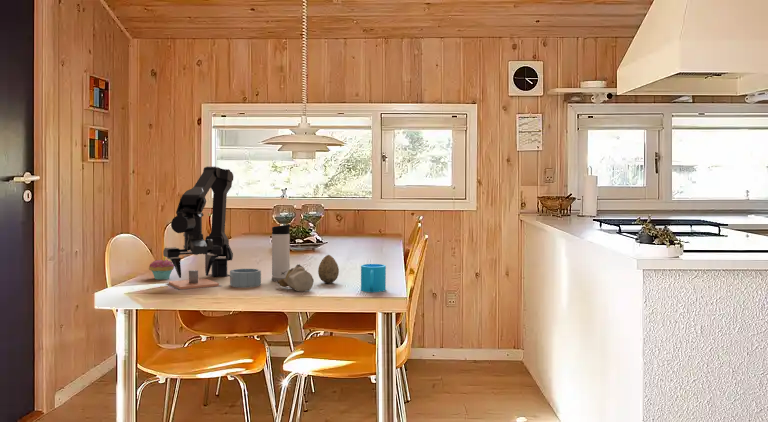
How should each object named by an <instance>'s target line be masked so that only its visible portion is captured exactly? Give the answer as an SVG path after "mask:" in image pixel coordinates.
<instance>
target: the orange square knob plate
mask: <svg viewBox="0 0 768 422" xmlns="http://www.w3.org/2000/svg"><path fill="white" fill-rule="evenodd" d="M168 283H169V284H170V285H172V286H174V287H176V288H178V289H187V290H192V289H191V288H199V289H203V288H202V287H210V288H215V287H214V286H219V285H220V283H219V282H216V281H213V280H211V279H208V278H199V270H195V269H191V270H188V279H184V280H172V281H168Z"/></svg>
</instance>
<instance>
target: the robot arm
mask: <svg viewBox="0 0 768 422" xmlns="http://www.w3.org/2000/svg"><path fill="white" fill-rule="evenodd" d="M233 181H234V173H233V172H232V171H231V169H229V168H228V169H227V168H225V169H224V168H220V167H219V166H205V167H204V168H203V172H202V173H201V175H200V176H199V178H198V180H197V181H196V182H195V184H194V186H192V188H190V189H188V190H186V191H184V193H182V195H181V197H180V200H179V201H178V206H177V209H176V210H175V214H176V215H175V216H174V217H173V218H172V220H171V222H170V226H171V229H172V230H173V231H174V232H175V233H177V234H183V237H184V239H183V240H184V245H183V248H179V247H176V246H173V247H164V249H163V257H164V256H165V258H167V259H168V260H170V262H171V263H173V265H174V269H175V271H176V273H177V276H178V278H179V279H181V278H182V268H181V267H182V266H181V260H182V258H181V257H180V256H181V255H182V256H183V255H195V256H199V255H204V256H205V257H204V258H205V259H204V261H205V262H204V265H205V267H204V268H205V270H204V271H205V276H206V277H208V276H209V277H211V278H222V277H223V278H225V277H226V278H227V277H230V274H228V261H233V257H234V252H233V250H232V248H231V246H230V239H229V238H228V236H227V234H226V232H225V231H226V215H227V214H226V213H227V196H228V195H227V194H228V192H230V190H231V188H232V186H233V185H232V184H233ZM210 189H211V190H212V192H213V193H212V194H213V196H212V199H213V200H212V213H211V214H212V215H211V227H210V229H211V230H210V231H211V232H210V233H209V235H207V236H206V237H205V239H204V233H203V227H202V226H203V223H202V222H203V219H202V217H204V213H203V211H204V209H205V207H206V203H207V199H206V197H207V195H208V192H209V191H210ZM210 270H211V273H210Z"/></svg>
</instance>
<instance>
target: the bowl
mask: <svg viewBox="0 0 768 422" xmlns="http://www.w3.org/2000/svg"><path fill="white" fill-rule="evenodd" d="M229 275H230V276H229V284H230V287H232V288H244V289H245V288H246V289H247V288H256V287H259V286H261V285H262V270H261V269H257V268H235V269H234V268H233V269H231V270H230V271H229Z"/></svg>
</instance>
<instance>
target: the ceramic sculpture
mask: <svg viewBox="0 0 768 422" xmlns="http://www.w3.org/2000/svg"><path fill="white" fill-rule="evenodd" d="M276 283H277V284H278V285H279V286H281V287H283V288H290V289H292V290H295V291H296V292H301V293H304V292H305V293H306V292H308V291H310V290H311V289H312V287H313V285H314V278H313V275H312V274H311V273H310V272H309V271H307V270H305V267H304V266H302V265H301V264H296V265H295V267H290V270H289V271H288V273H287V275H286V279H281V280H277V281H276Z"/></svg>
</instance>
